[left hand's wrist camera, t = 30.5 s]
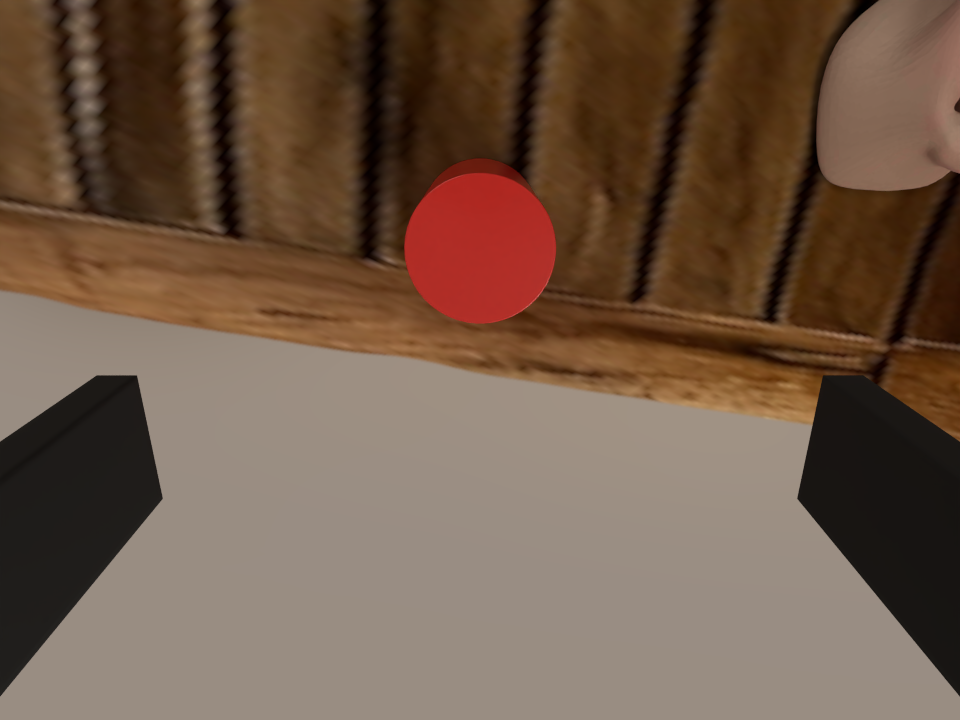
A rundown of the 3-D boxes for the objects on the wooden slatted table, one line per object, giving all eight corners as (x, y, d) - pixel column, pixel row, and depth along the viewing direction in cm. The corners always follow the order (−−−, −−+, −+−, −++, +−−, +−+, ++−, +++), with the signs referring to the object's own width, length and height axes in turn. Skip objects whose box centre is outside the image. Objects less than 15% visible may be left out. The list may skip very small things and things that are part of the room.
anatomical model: (867, 234, 35) (823, 16, 31) (830, 222, 39) (786, 26, 35) (1125, 133, 33) (1111, -111, 29) (1060, 131, 37) (1040, -86, 33)
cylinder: (559, 191, 38) (583, 215, 29) (506, 294, 41) (513, 346, 32) (451, 136, 37) (442, 144, 28) (403, 246, 39) (380, 285, 30)
